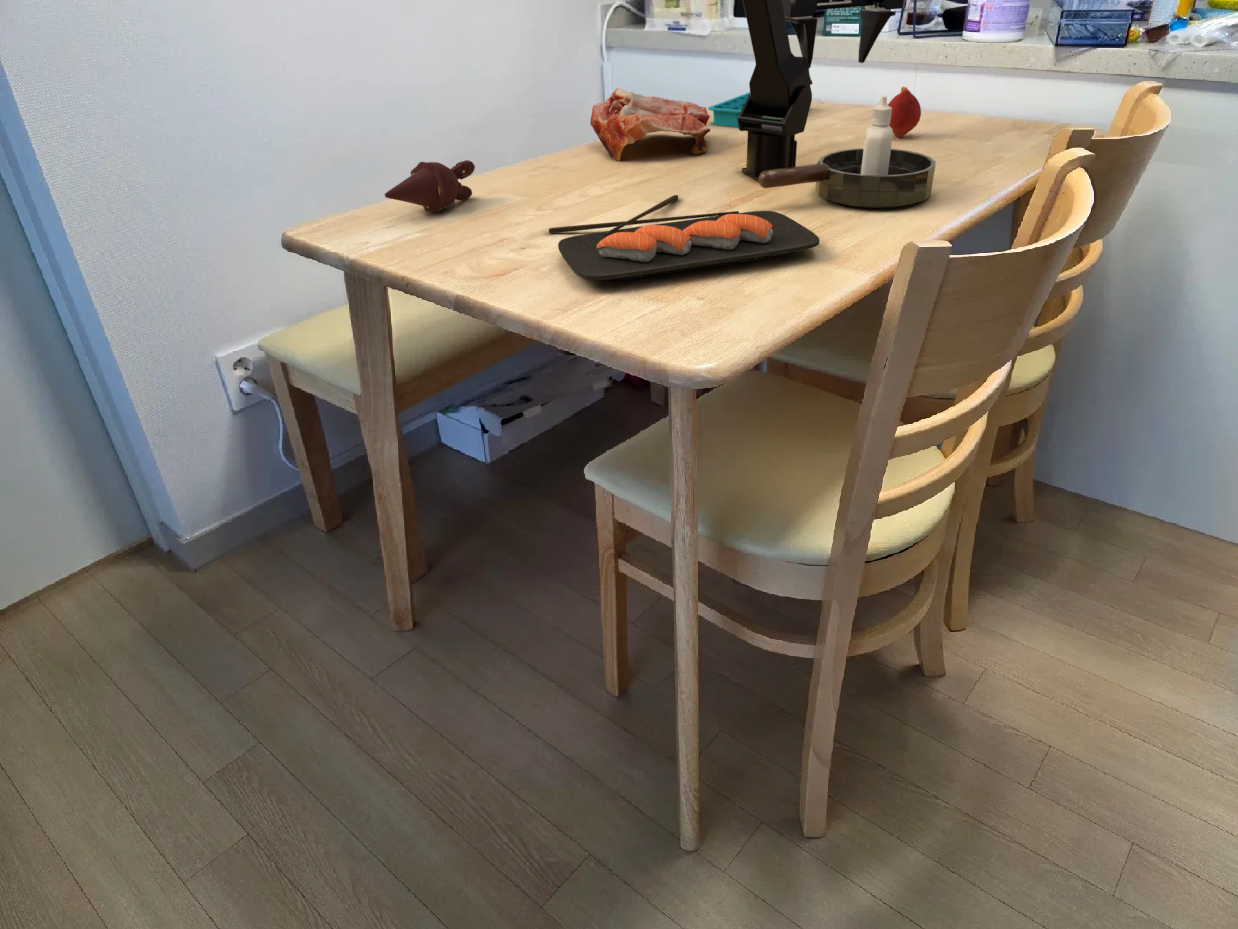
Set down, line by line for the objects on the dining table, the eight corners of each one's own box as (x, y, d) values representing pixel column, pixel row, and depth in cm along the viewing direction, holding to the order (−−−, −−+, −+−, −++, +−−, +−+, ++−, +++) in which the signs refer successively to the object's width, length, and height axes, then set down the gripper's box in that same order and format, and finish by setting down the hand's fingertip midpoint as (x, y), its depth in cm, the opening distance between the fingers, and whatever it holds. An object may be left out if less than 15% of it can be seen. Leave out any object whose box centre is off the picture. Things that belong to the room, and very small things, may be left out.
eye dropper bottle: (846, 190, 114) (855, 97, 107) (873, 183, 116) (884, 91, 110) (870, 197, 111) (882, 101, 104) (898, 189, 113) (911, 95, 107)
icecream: (403, 180, 106) (491, 166, 116) (369, 158, 109) (458, 146, 119) (401, 230, 111) (486, 212, 120) (368, 208, 114) (454, 192, 124)
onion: (913, 133, 143) (920, 82, 139) (920, 140, 138) (928, 89, 134) (879, 133, 144) (885, 84, 139) (884, 141, 139) (891, 90, 134)
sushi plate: (582, 296, 88) (579, 262, 86) (528, 217, 112) (525, 189, 110) (828, 259, 94) (832, 225, 92) (727, 191, 118) (727, 164, 116)
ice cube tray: (705, 125, 156) (705, 108, 154) (755, 105, 169) (755, 89, 168) (760, 130, 150) (761, 112, 148) (807, 109, 163) (809, 93, 162)
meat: (659, 128, 155) (658, 70, 150) (739, 145, 141) (741, 81, 135) (569, 148, 145) (564, 86, 140) (644, 168, 131) (642, 101, 125)
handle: (762, 190, 107) (763, 173, 106) (755, 186, 109) (755, 169, 108) (832, 181, 110) (834, 164, 108) (824, 177, 111) (826, 160, 110)
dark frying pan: (851, 217, 106) (855, 181, 103) (796, 187, 118) (799, 155, 116) (953, 202, 109) (959, 167, 107) (890, 175, 121) (894, 143, 119)
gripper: (873, -59, 127) (861, 53, 136) (762, -52, 123) (757, 63, 132) (914, -58, 118) (899, 62, 127) (796, -50, 114) (788, 73, 123)
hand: (834, 65), depth 127 cm, fingers open, 9 cm apart
